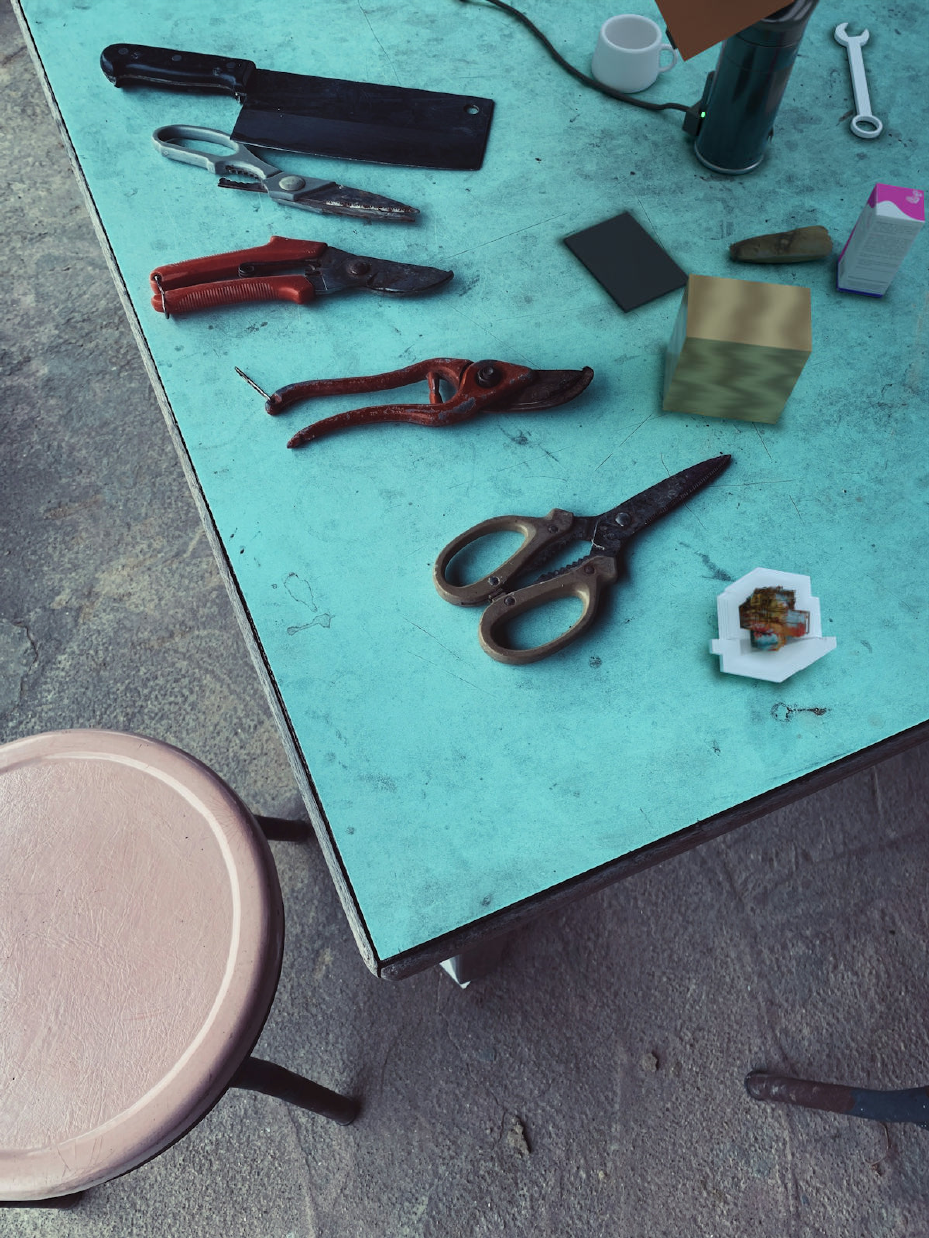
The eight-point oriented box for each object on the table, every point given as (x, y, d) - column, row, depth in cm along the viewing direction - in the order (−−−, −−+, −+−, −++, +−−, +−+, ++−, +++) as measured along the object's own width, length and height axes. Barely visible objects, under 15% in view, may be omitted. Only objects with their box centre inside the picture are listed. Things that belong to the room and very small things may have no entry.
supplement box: (883, 299, 115) (926, 223, 105) (835, 291, 115) (873, 215, 105) (884, 265, 117) (925, 188, 107) (836, 258, 118) (873, 180, 108)
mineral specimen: (818, 570, 95) (842, 557, 88) (826, 683, 94) (850, 678, 87) (700, 573, 96) (714, 560, 89) (706, 685, 95) (720, 681, 88)
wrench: (865, 28, 139) (832, 26, 139) (867, 24, 138) (834, 21, 138) (884, 139, 128) (849, 137, 128) (886, 135, 127) (851, 132, 127)
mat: (562, 241, 118) (563, 238, 118) (626, 214, 121) (627, 211, 120) (625, 313, 113) (626, 310, 113) (691, 283, 116) (691, 280, 115)
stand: (775, 364, 110) (810, 287, 99) (775, 424, 106) (812, 351, 95) (666, 351, 111) (689, 273, 100) (662, 410, 107) (685, 336, 96)
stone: (820, 235, 120) (826, 220, 118) (834, 262, 117) (840, 248, 115) (723, 248, 118) (728, 234, 116) (735, 276, 116) (740, 262, 114)
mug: (586, 91, 132) (592, 49, 126) (594, 49, 136) (600, 7, 130) (670, 102, 131) (679, 60, 125) (676, 60, 135) (685, 18, 130)
